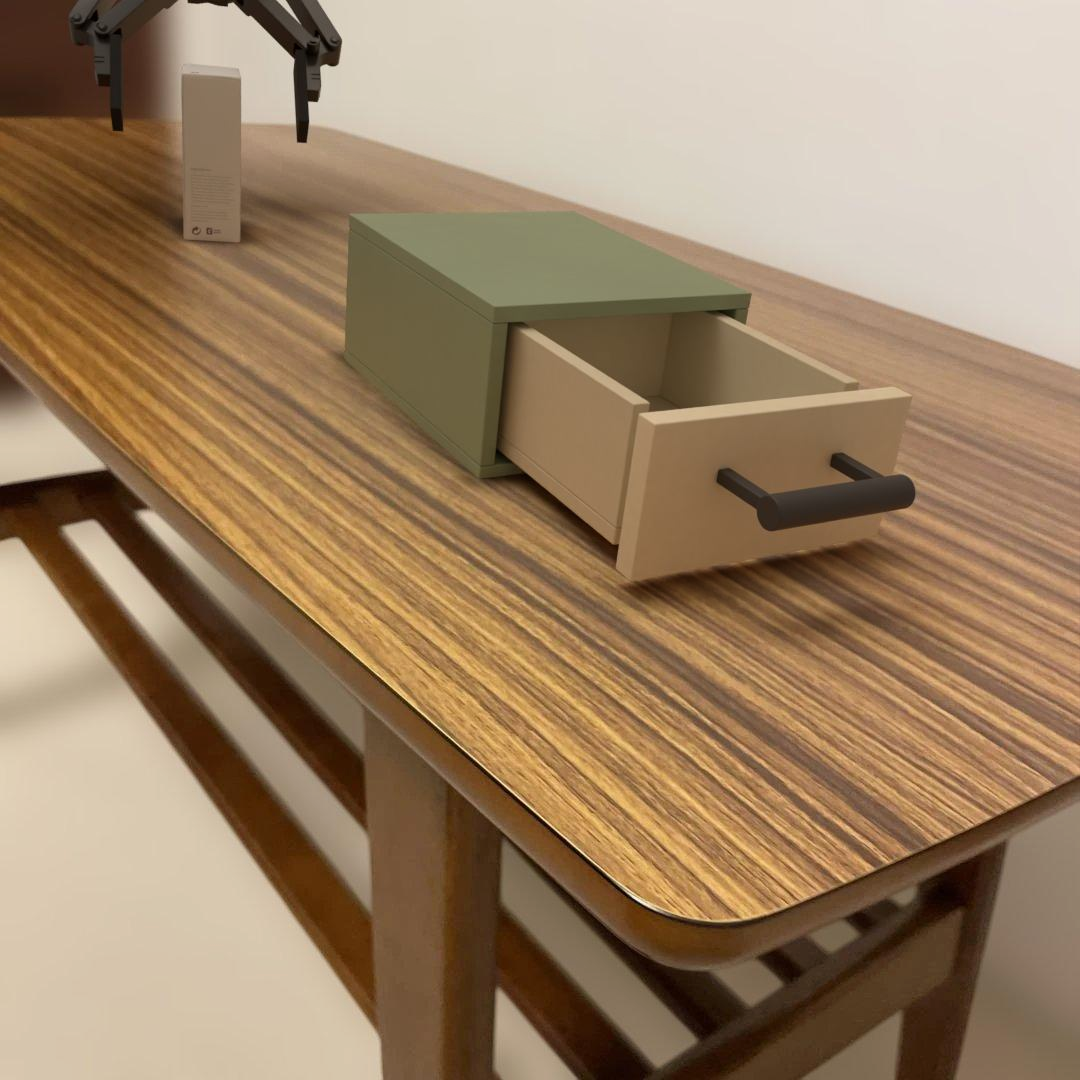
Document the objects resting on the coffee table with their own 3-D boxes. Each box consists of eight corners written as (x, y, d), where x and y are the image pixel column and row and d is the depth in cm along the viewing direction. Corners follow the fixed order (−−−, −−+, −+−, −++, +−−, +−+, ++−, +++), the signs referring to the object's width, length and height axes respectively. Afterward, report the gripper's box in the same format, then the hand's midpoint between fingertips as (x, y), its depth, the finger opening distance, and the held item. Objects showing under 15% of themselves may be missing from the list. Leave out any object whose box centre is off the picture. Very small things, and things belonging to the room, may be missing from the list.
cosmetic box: (242, 245, 93) (241, 77, 88) (183, 242, 92) (179, 72, 87) (240, 226, 98) (240, 66, 93) (184, 223, 97) (181, 61, 92)
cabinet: (723, 451, 66) (752, 293, 62) (478, 482, 59) (494, 306, 55) (558, 346, 79) (574, 211, 75) (343, 361, 72) (348, 213, 68)
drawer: (945, 579, 52) (988, 431, 49) (691, 634, 46) (722, 467, 43) (670, 407, 68) (690, 287, 65) (452, 430, 62) (462, 297, 59)
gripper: (355, -48, 106) (370, 165, 100) (44, -81, 99) (40, 145, 93) (365, -118, 99) (382, 107, 93) (32, -158, 92) (27, 81, 86)
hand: (211, 126), depth 93 cm, fingers open, 13 cm apart
